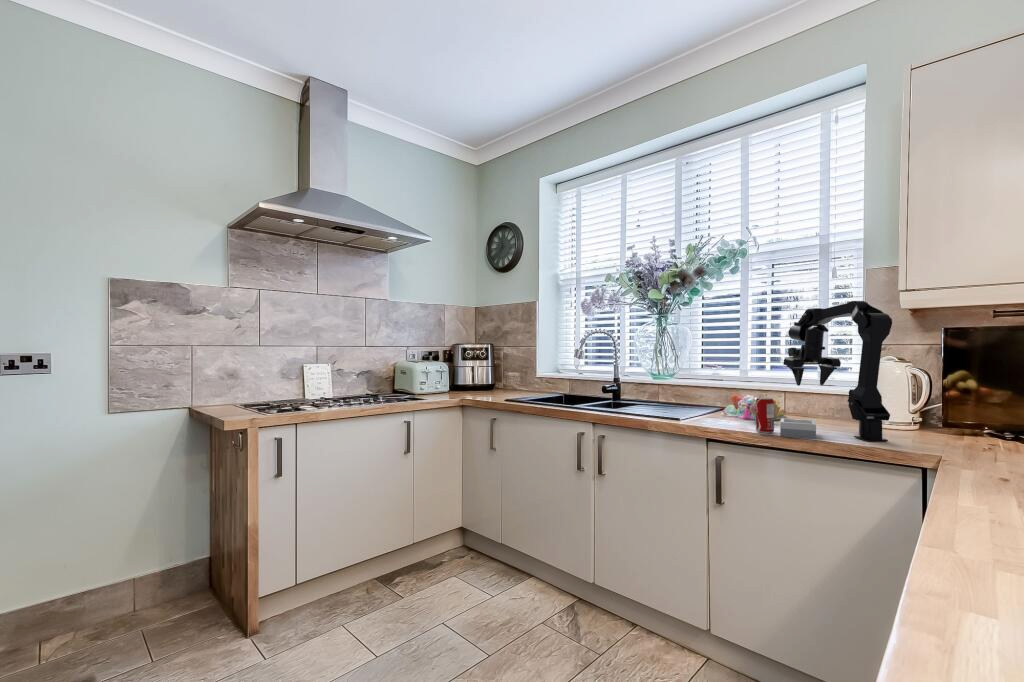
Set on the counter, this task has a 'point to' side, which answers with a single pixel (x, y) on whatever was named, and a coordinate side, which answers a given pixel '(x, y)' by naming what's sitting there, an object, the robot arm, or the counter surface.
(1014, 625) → the counter surface
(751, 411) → the cupcake
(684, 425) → the counter surface
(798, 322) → the robot arm
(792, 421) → the socket block
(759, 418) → the soda can
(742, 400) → the colorful dessert platter
